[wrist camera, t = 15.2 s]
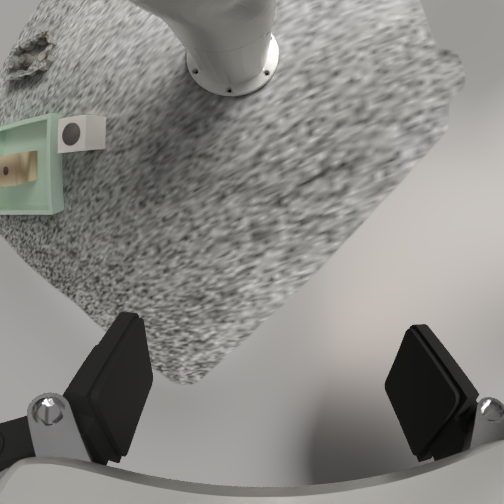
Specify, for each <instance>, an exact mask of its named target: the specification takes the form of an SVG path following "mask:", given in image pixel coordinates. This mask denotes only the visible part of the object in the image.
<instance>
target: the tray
mask: <svg viewBox="0 0 504 504" xmlns="http://www.w3.org/2000/svg"><path fill="white" fill-rule="evenodd" d="M61 118H64V114H57V113H50V114H45V115H41V116H37V117H33V118H29V119H25V120H21V121H17V122H14V123H10V124H7V125H3V126H0V156H5V155H10V154H15V153H22V152H29V151H37V150H38V179H37V180H34V181H30V182H26V183H23V184H19V185H14V186H4V187H0V215H54V214H56V213H58V212H60V211H63V210H65V209H64V195H63V170H62V153H58V121H59V119H61Z"/></svg>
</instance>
